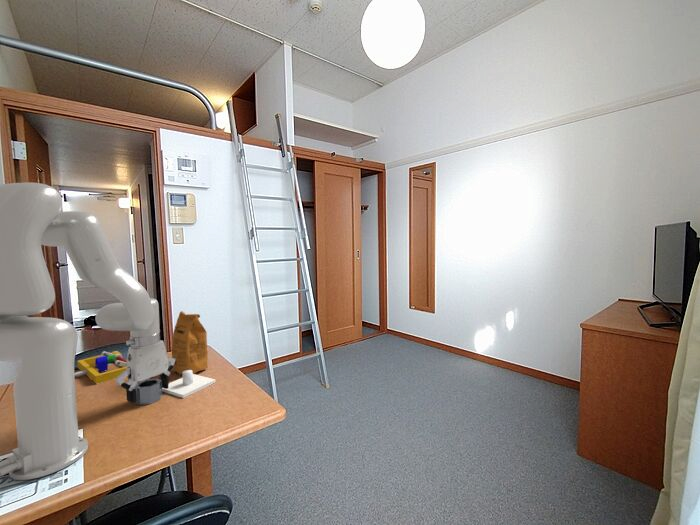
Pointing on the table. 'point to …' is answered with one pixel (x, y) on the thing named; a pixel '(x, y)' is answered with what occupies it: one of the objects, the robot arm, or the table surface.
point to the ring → (148, 391)
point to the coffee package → (189, 344)
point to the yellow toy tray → (101, 366)
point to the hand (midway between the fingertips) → (149, 394)
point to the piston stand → (188, 384)
